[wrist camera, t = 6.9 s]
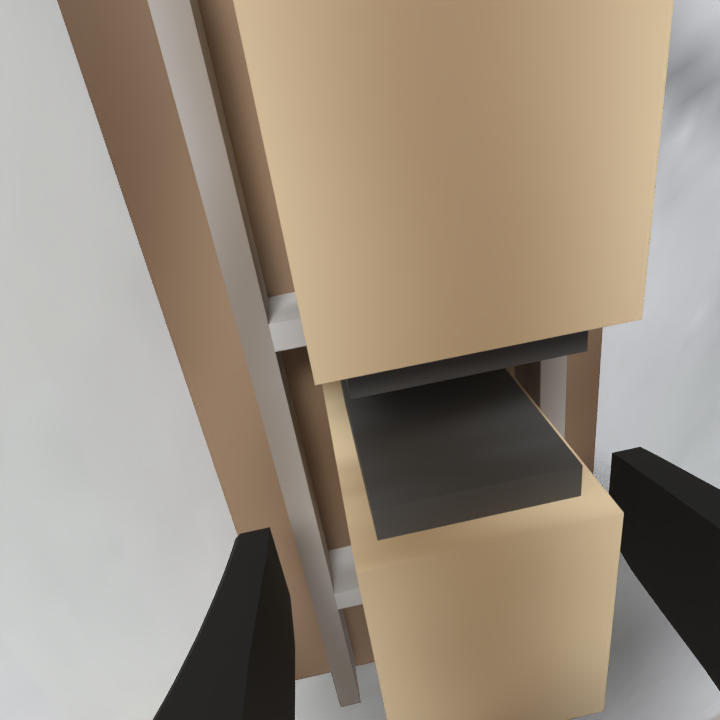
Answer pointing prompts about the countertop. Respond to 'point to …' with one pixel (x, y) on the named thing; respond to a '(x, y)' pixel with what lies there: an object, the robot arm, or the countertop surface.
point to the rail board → (375, 225)
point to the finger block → (476, 551)
